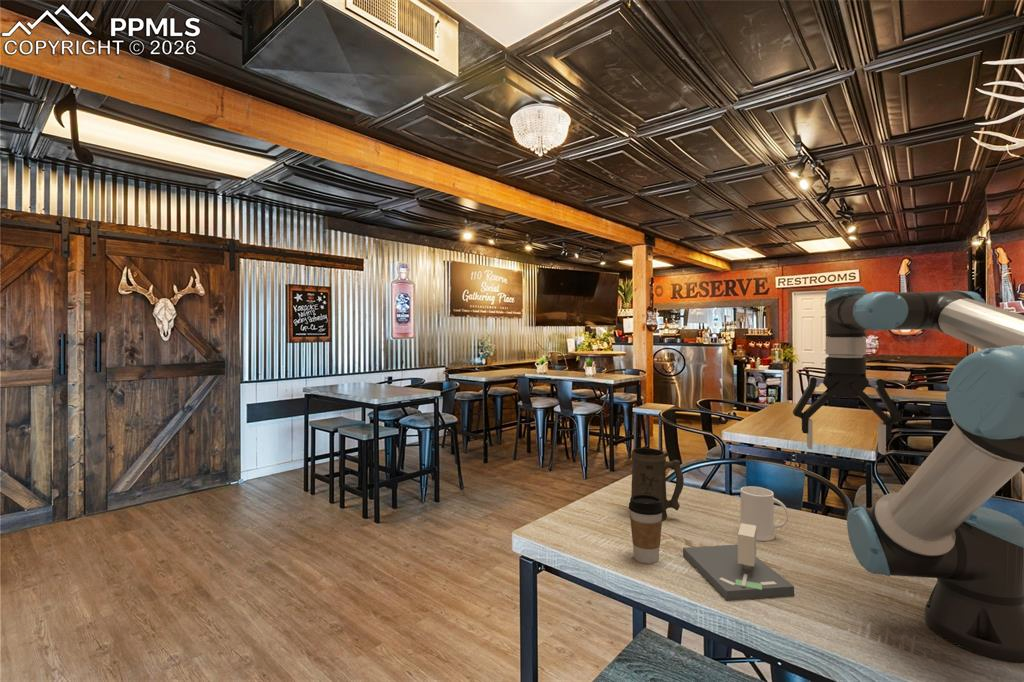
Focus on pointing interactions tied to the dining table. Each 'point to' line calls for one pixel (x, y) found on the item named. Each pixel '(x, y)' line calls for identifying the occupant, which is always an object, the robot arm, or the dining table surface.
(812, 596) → the dining table surface
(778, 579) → the tuner board
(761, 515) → the mug
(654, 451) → the beer stein
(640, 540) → the coffee cup
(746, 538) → the peg
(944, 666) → the dining table surface
